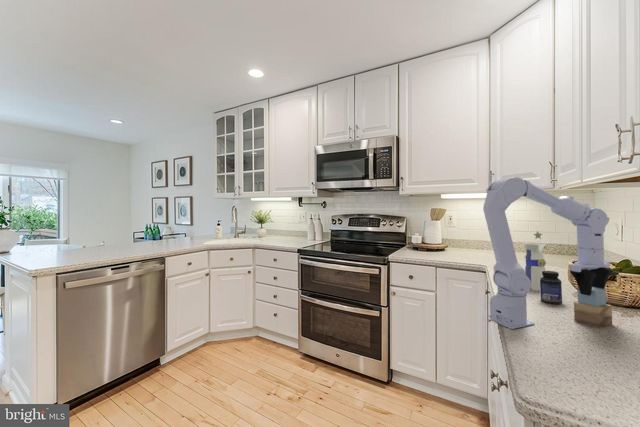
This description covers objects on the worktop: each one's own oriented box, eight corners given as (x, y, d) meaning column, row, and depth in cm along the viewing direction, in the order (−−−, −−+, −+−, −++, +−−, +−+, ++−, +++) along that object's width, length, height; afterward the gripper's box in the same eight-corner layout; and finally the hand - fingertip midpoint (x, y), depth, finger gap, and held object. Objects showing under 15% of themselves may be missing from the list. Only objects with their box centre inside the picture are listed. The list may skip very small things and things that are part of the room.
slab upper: (598, 318, 80) (598, 308, 80) (574, 311, 85) (573, 301, 85) (612, 315, 81) (611, 305, 81) (587, 309, 87) (586, 299, 87)
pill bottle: (566, 304, 99) (565, 273, 99) (546, 304, 100) (545, 273, 100) (555, 299, 105) (554, 270, 105) (537, 299, 106) (536, 270, 106)
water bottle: (554, 290, 116) (552, 230, 116) (536, 291, 115) (534, 231, 115) (536, 285, 125) (534, 229, 125) (519, 286, 123) (517, 230, 123)
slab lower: (599, 328, 80) (598, 318, 80) (574, 321, 86) (574, 311, 86) (612, 325, 82) (612, 315, 82) (587, 318, 87) (587, 308, 87)
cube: (596, 306, 81) (596, 291, 81) (578, 302, 85) (577, 287, 85) (606, 304, 82) (605, 289, 82) (587, 300, 86) (587, 285, 86)
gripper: (591, 251, 78) (592, 300, 78) (623, 248, 82) (624, 294, 82) (562, 248, 84) (563, 293, 84) (593, 245, 89) (594, 288, 89)
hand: (591, 293), depth 84 cm, fingers open, 5 cm apart
